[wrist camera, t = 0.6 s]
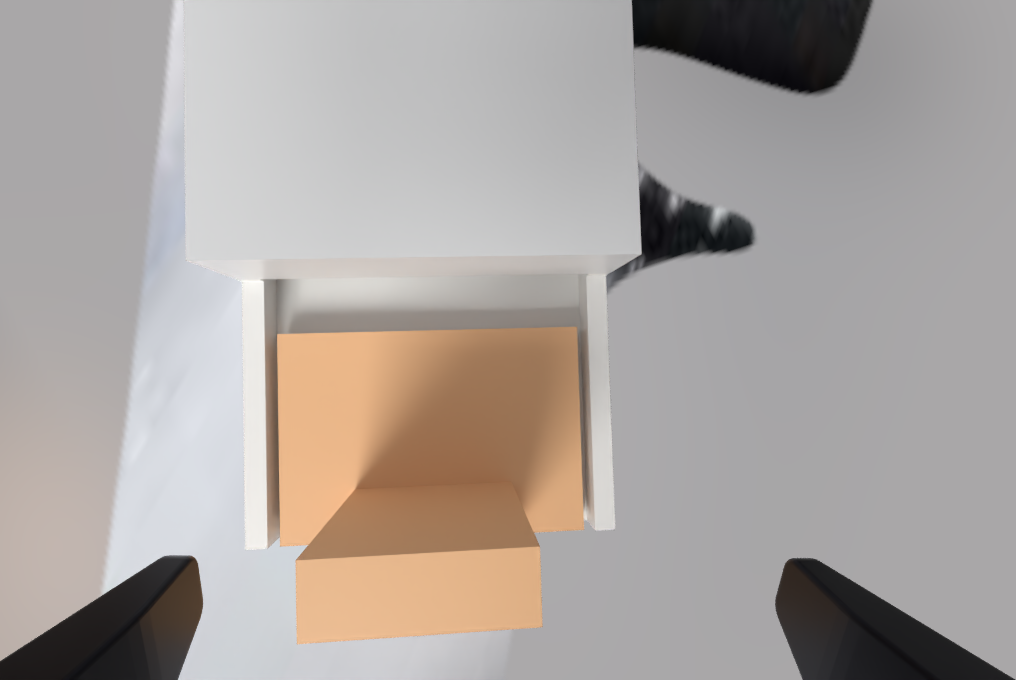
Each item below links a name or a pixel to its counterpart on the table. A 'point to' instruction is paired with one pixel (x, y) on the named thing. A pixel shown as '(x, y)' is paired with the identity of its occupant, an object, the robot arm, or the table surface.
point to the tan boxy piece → (425, 476)
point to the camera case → (412, 184)
